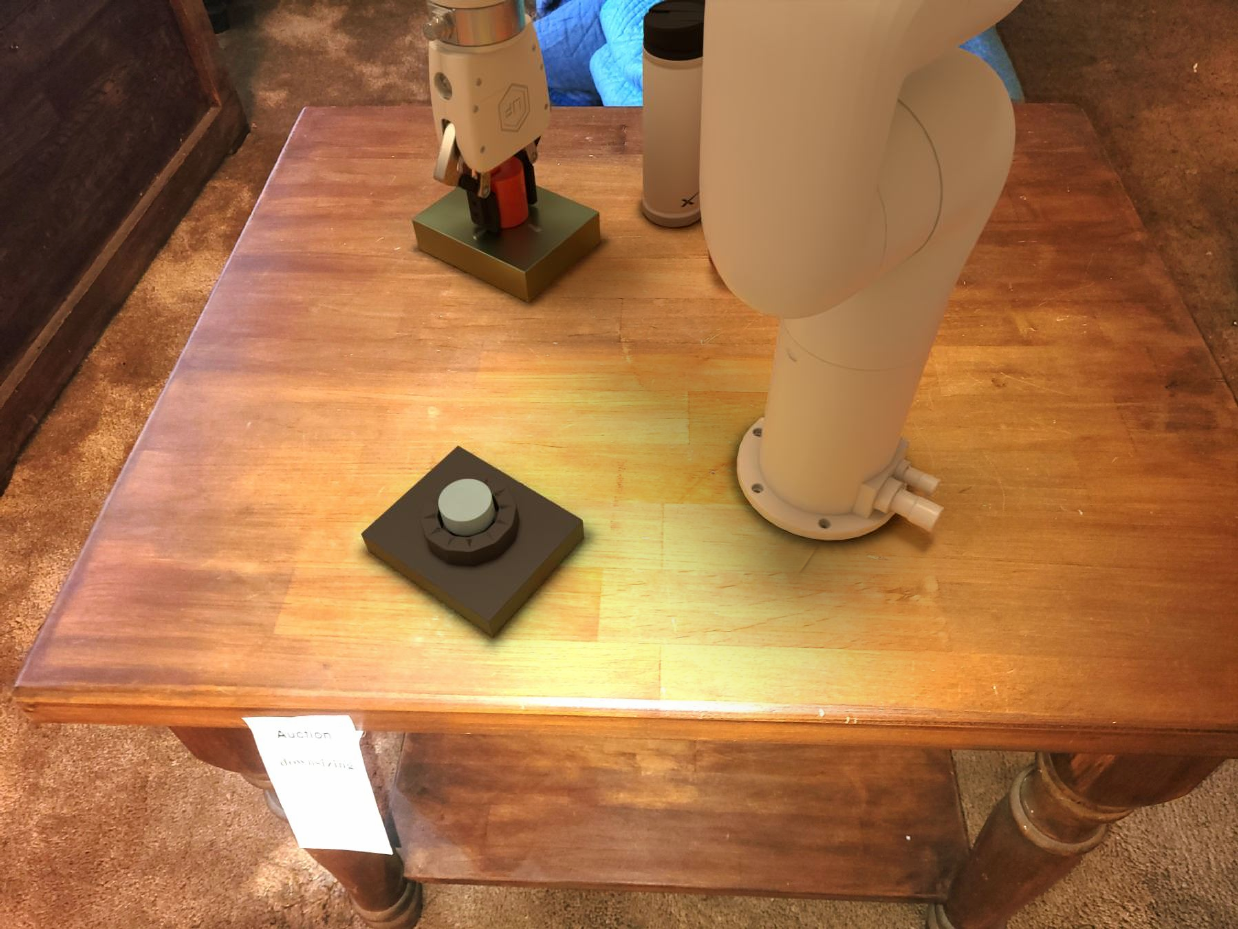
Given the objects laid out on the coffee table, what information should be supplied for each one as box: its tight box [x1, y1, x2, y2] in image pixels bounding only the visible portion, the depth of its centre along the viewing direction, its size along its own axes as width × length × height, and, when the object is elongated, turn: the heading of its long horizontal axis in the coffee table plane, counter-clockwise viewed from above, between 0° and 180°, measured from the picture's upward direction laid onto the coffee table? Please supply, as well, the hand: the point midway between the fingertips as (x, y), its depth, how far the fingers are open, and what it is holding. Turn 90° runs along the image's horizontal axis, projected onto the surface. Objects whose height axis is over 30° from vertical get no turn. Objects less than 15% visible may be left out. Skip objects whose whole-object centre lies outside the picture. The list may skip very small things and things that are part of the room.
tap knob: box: [473, 156, 529, 228], centre depth 81 cm, size 4×4×5 cm
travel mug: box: [641, 0, 705, 228], centre depth 81 cm, size 6×7×20 cm
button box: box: [360, 445, 585, 639], centre depth 62 cm, size 12×10×4 cm
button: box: [438, 479, 495, 536], centre depth 60 cm, size 4×4×2 cm
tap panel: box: [411, 174, 602, 303], centre depth 84 cm, size 14×11×4 cm
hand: (504, 210), depth 82 cm, fingers closed on tap knob, 4 cm apart
